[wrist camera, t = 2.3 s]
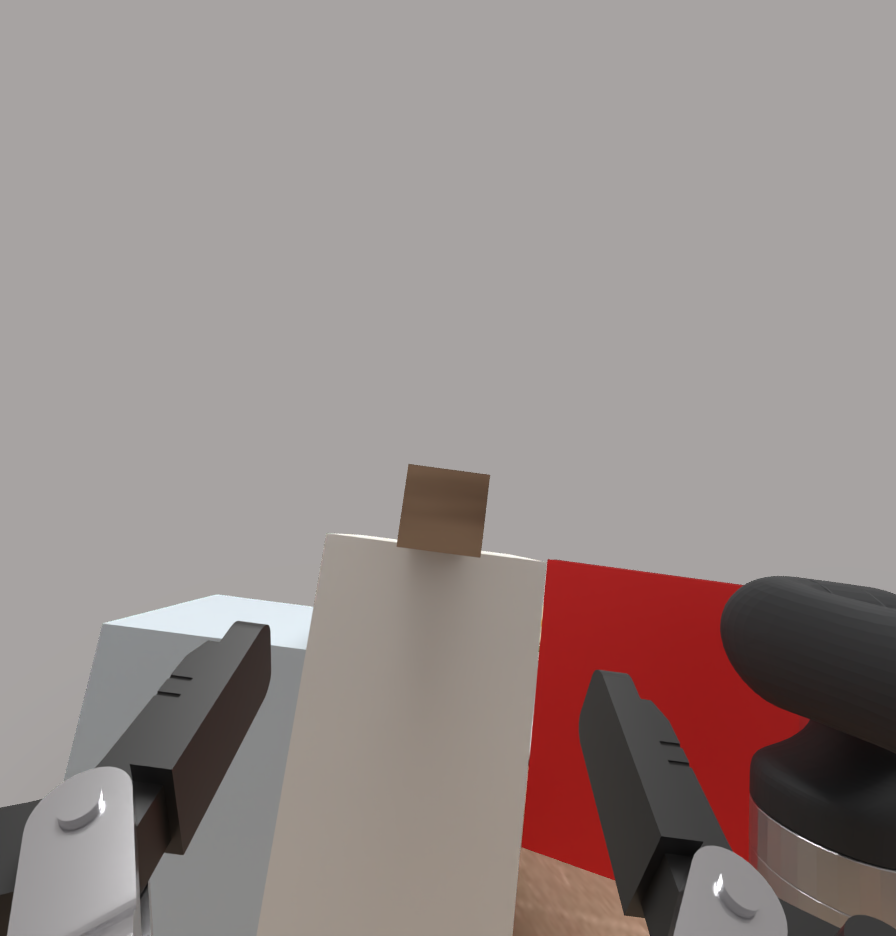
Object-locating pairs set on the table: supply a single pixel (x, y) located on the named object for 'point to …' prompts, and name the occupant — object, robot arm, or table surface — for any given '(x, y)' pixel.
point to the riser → (351, 748)
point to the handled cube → (443, 511)
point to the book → (657, 679)
